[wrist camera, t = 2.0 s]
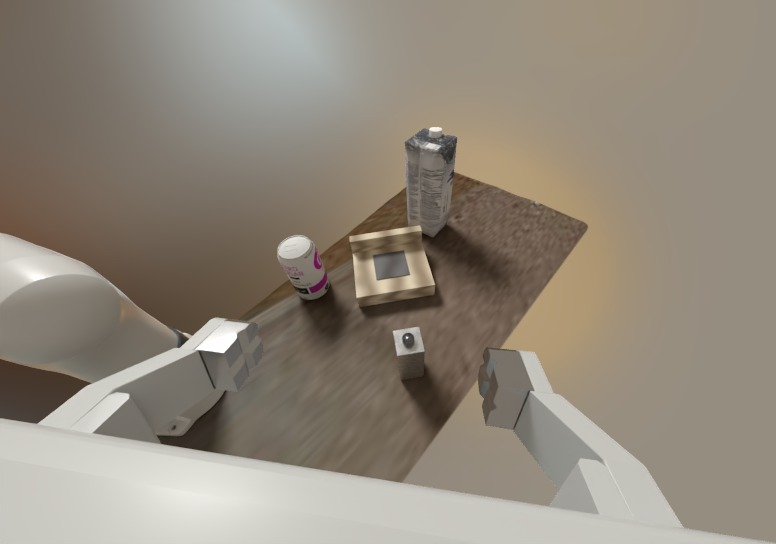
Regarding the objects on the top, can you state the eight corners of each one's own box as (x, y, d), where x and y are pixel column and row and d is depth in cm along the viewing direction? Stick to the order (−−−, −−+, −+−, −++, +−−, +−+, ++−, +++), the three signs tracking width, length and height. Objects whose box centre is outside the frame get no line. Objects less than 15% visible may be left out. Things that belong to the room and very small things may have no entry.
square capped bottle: (400, 380, 54) (396, 353, 44) (397, 358, 57) (392, 328, 47) (423, 376, 54) (424, 348, 44) (418, 354, 57) (418, 323, 47)
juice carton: (434, 242, 77) (440, 147, 56) (404, 228, 82) (399, 135, 61) (451, 224, 81) (462, 129, 60) (421, 211, 86) (422, 119, 65)
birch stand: (359, 307, 65) (353, 287, 59) (355, 257, 76) (349, 236, 69) (434, 294, 66) (436, 273, 60) (419, 247, 76) (420, 225, 70)
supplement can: (329, 272, 73) (312, 230, 61) (330, 297, 68) (313, 256, 56) (298, 278, 73) (276, 236, 61) (297, 304, 67) (273, 264, 56)
